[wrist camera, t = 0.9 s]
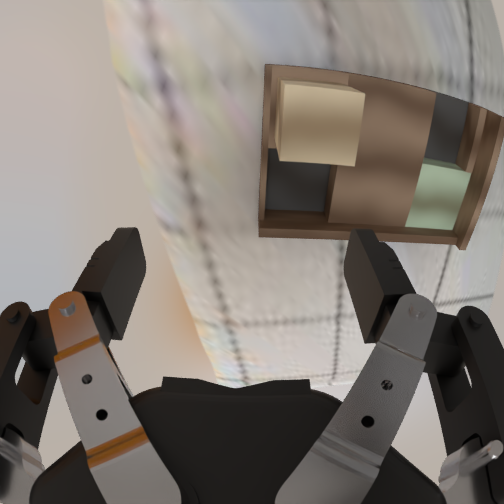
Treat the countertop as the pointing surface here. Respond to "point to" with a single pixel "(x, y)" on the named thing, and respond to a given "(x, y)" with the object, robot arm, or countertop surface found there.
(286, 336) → the countertop surface
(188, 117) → the countertop surface
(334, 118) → the block
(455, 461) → the robot arm
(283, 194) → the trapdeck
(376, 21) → the countertop surface
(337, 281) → the countertop surface
